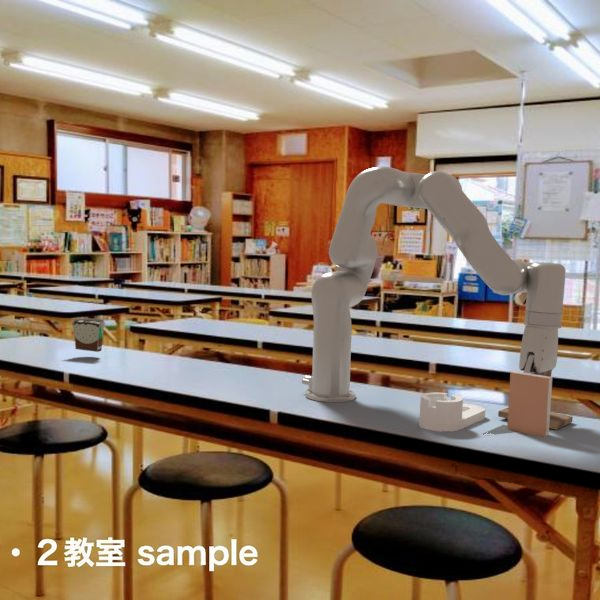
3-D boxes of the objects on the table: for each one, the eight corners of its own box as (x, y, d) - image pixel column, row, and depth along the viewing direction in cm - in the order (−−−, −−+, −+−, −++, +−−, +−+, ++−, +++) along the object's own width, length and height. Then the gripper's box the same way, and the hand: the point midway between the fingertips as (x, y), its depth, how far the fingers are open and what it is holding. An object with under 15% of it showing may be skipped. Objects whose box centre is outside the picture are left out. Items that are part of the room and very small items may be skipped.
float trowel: (556, 429, 141) (561, 377, 140) (498, 416, 150) (501, 366, 149) (572, 421, 148) (576, 371, 147) (515, 409, 156) (519, 362, 155)
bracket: (449, 436, 137) (451, 404, 136) (411, 428, 142) (413, 397, 142) (489, 418, 153) (491, 388, 152) (454, 411, 158) (455, 382, 157)
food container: (113, 349, 226) (113, 320, 226) (100, 352, 221) (101, 321, 220) (85, 346, 232) (85, 317, 231) (72, 348, 226) (72, 319, 225)
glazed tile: (507, 428, 142) (510, 372, 141) (511, 427, 143) (514, 371, 142) (544, 437, 136) (548, 378, 135) (548, 435, 138) (552, 377, 137)
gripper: (541, 315, 155) (534, 393, 157) (509, 320, 143) (503, 405, 145) (574, 319, 150) (567, 399, 152) (544, 324, 138) (537, 412, 140)
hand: (536, 401), depth 148 cm, fingers closed on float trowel, 4 cm apart
